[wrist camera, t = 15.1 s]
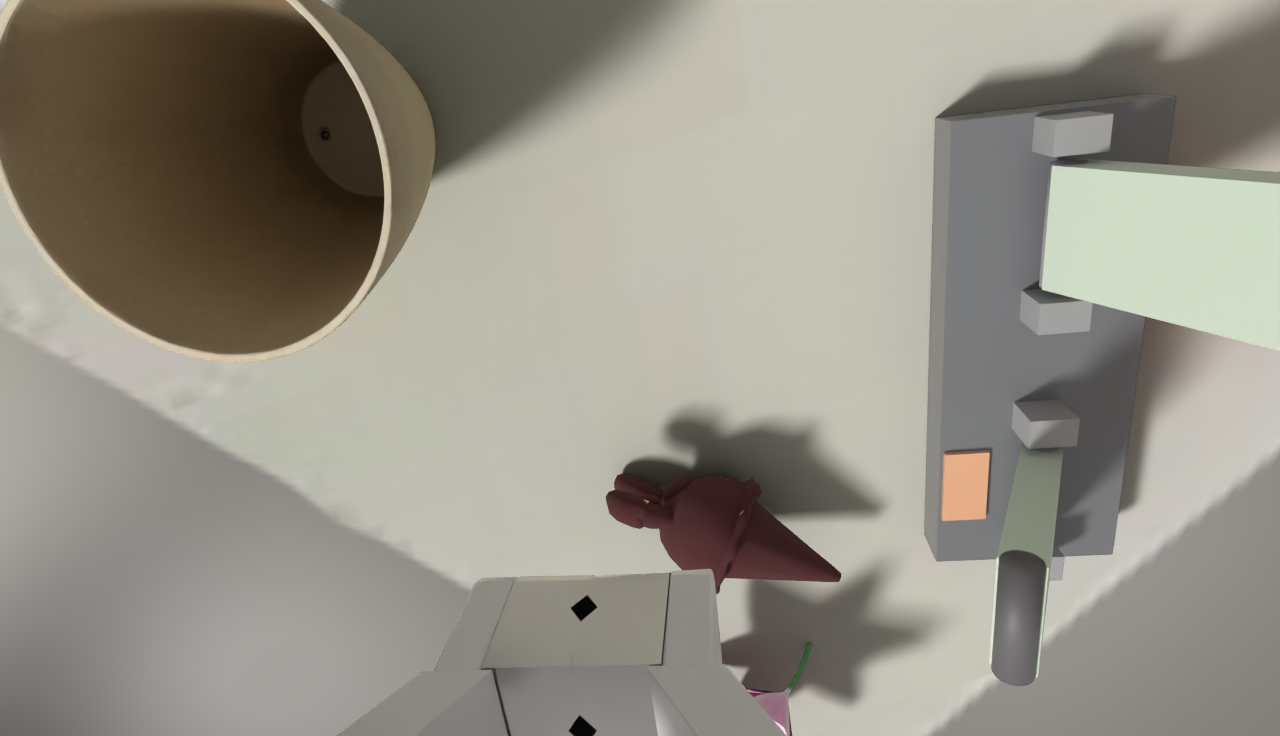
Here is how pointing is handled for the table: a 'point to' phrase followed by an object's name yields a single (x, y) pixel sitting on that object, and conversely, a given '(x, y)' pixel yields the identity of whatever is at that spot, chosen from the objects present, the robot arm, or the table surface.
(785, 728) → the lily
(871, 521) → the table surface
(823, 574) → the icecream
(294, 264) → the plant pot
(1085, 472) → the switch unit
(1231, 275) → the lever
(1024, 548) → the lever
